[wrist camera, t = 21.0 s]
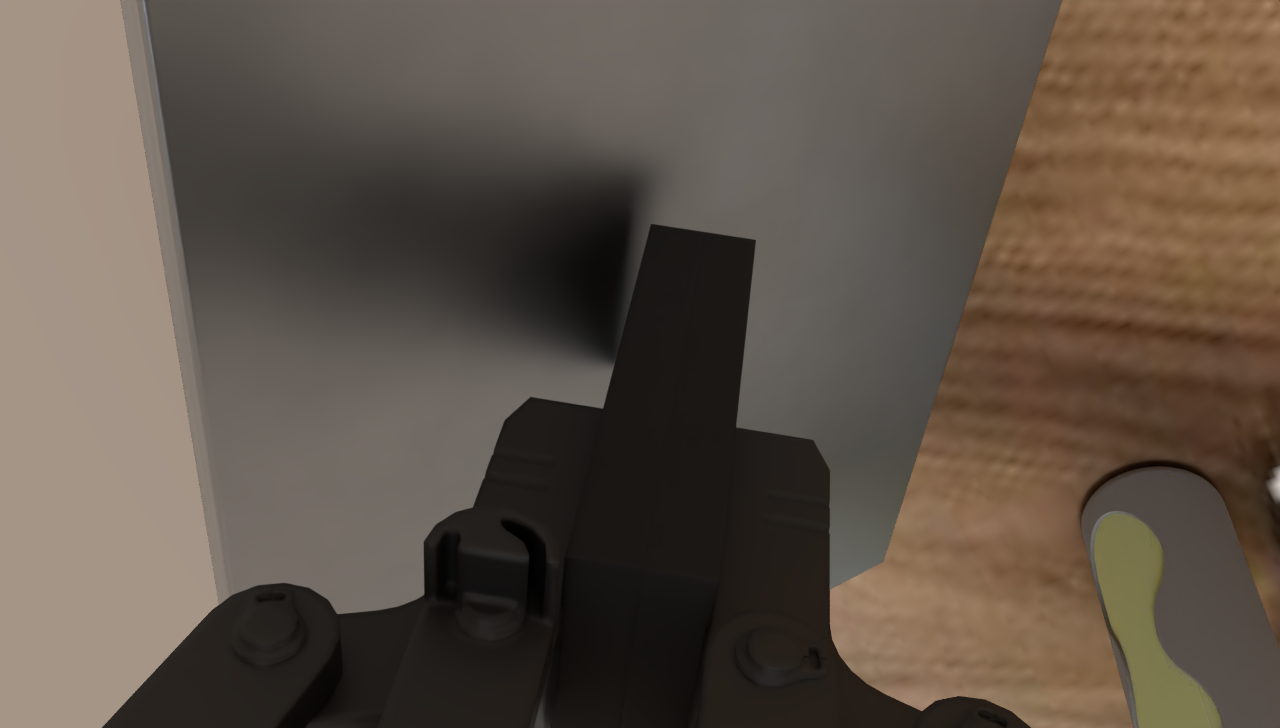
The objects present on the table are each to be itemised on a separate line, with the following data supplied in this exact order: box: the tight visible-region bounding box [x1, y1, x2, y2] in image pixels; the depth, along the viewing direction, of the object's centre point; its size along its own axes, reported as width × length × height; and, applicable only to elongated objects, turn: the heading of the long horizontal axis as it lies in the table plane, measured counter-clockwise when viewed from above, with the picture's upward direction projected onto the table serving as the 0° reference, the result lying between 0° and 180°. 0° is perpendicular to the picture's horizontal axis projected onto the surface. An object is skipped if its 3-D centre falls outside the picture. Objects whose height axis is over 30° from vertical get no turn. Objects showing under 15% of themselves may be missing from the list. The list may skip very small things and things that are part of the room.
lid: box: [121, 0, 1062, 614], centre depth 18 cm, size 15×20×1 cm
